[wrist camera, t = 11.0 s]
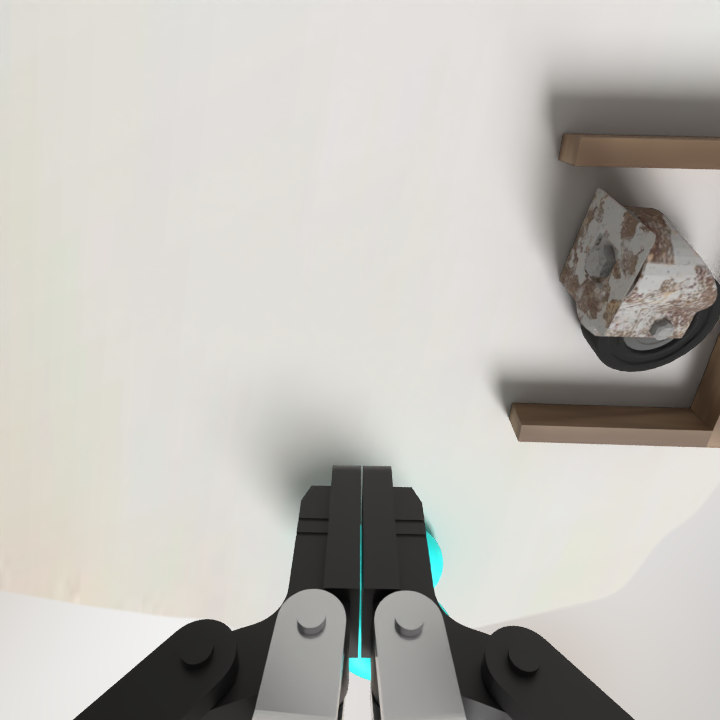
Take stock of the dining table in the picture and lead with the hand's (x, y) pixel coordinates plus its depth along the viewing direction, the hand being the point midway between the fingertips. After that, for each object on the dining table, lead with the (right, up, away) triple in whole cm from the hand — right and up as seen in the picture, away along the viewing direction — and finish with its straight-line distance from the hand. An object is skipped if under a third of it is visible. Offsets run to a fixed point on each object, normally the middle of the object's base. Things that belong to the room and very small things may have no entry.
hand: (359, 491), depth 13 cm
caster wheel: (+19, +9, +22) cm, 31 cm away
